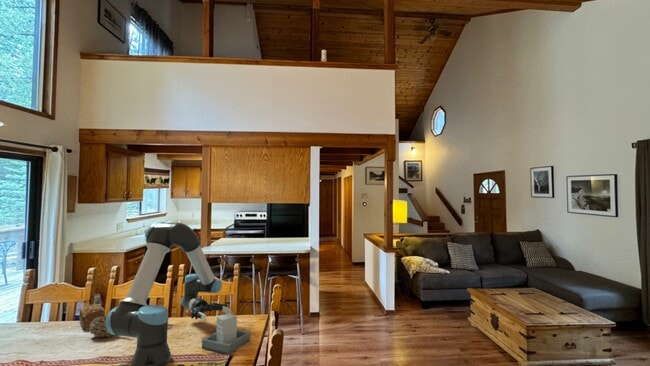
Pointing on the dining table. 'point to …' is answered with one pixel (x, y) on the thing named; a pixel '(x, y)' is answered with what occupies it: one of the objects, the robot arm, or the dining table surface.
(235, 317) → the supplement box
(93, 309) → the bread
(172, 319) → the dining table surface
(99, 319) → the pine cone
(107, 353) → the dining table surface
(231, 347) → the box
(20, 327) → the dining table surface
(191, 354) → the dining table surface
